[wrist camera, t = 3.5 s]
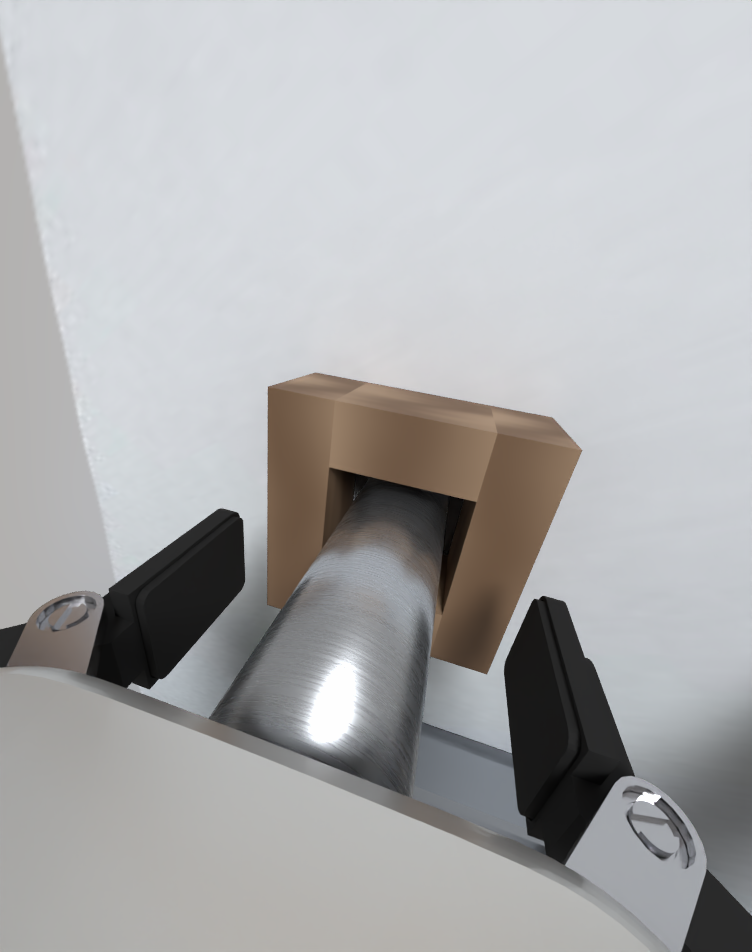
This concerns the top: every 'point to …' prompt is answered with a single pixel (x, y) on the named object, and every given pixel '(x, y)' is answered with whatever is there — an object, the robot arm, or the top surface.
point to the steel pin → (353, 643)
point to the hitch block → (425, 467)
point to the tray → (470, 783)
